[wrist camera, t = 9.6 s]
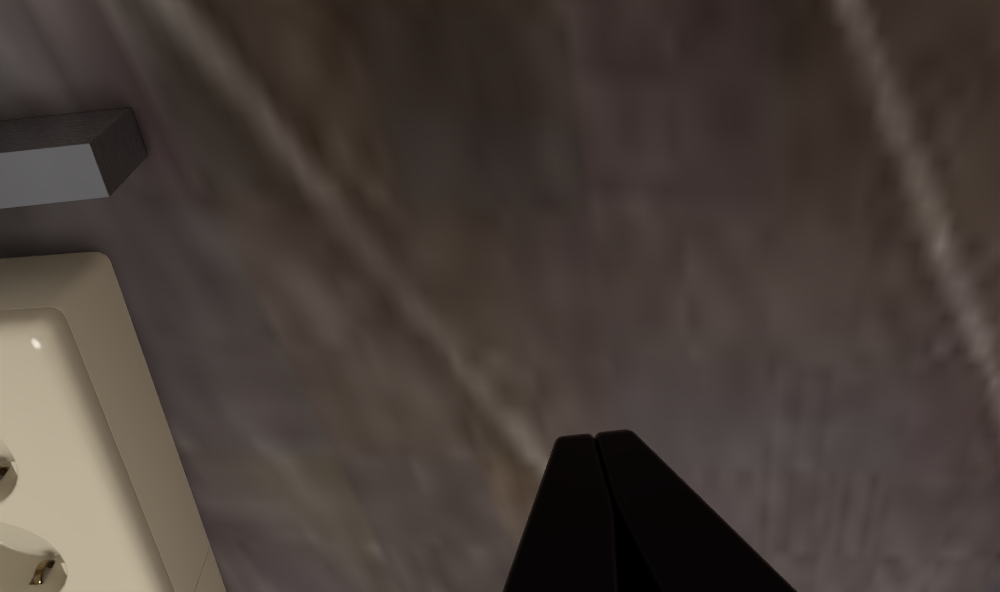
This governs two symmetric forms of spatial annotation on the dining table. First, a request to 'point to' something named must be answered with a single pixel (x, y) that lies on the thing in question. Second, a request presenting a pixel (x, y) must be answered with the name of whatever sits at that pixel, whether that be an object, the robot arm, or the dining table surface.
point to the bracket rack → (67, 156)
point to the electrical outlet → (87, 443)
